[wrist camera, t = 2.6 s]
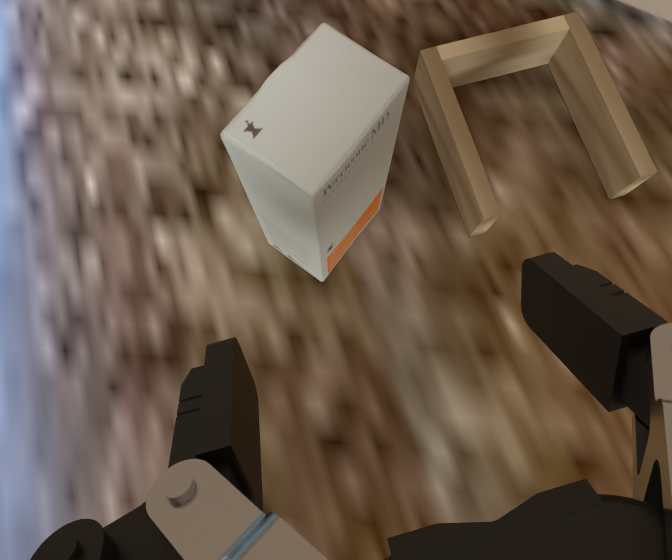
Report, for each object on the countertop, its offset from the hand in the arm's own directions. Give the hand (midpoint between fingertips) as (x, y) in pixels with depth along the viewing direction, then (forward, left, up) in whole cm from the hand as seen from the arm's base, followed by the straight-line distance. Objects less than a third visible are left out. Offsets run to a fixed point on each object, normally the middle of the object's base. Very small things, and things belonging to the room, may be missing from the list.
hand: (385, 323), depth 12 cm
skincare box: (0, +8, -14) cm, 16 cm away
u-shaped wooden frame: (+13, +10, -13) cm, 21 cm away
